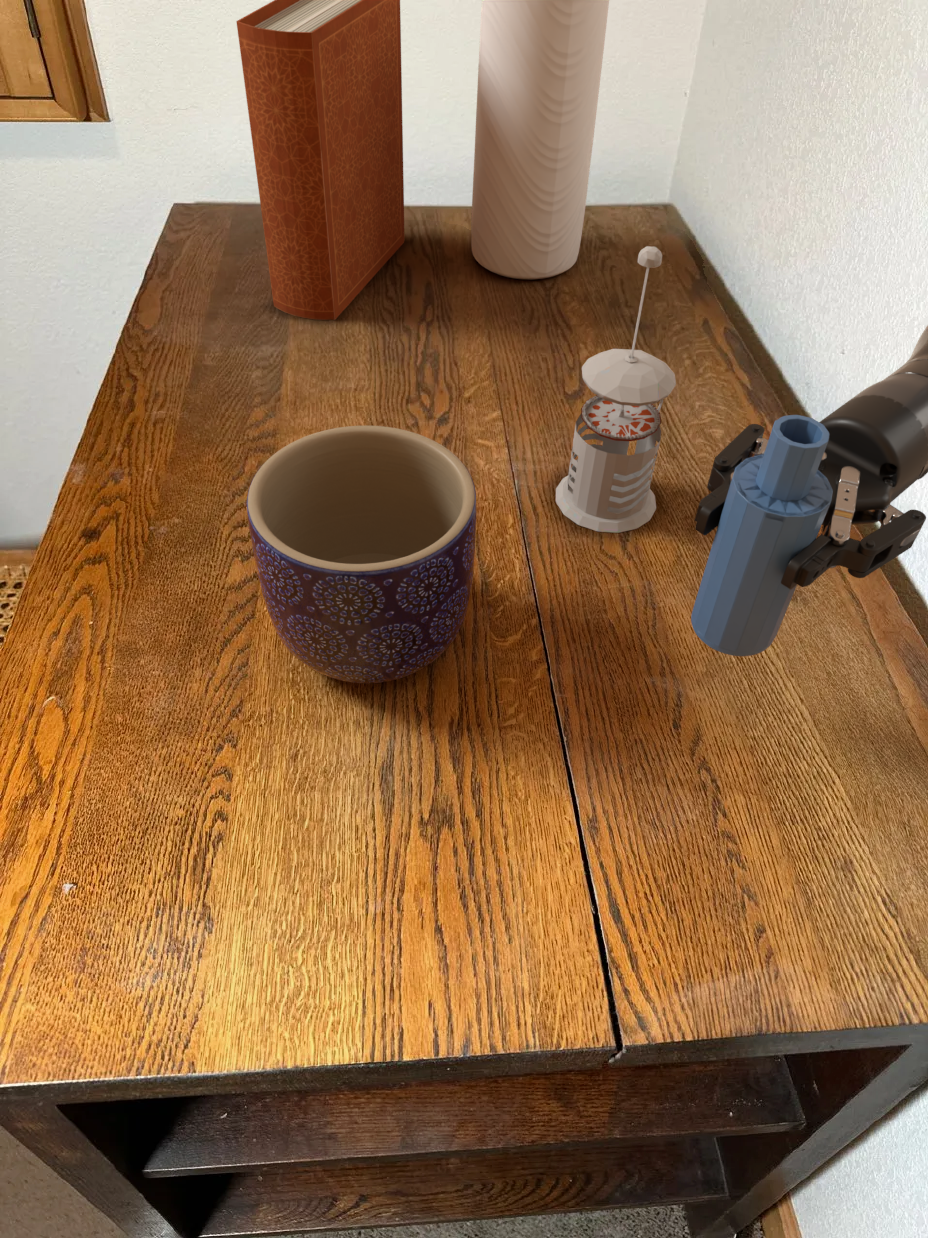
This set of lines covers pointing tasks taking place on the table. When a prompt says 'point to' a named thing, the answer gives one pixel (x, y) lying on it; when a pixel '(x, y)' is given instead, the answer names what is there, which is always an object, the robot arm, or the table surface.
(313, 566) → the planter
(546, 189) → the vase
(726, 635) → the blue bottle
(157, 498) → the table surface
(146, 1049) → the table surface
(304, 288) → the book
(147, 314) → the table surface
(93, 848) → the table surface
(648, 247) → the french press
